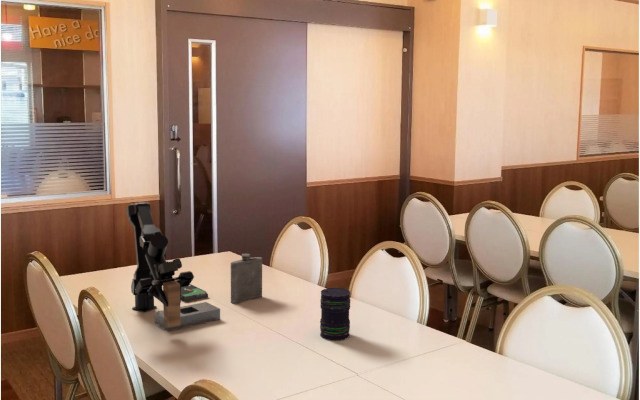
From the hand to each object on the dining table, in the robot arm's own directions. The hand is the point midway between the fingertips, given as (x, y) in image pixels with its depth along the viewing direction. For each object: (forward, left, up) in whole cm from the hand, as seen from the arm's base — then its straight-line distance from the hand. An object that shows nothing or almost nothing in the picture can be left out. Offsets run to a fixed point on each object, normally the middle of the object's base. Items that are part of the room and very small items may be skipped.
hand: (173, 304), depth 218 cm
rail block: (-7, +14, -11) cm, 20 cm away
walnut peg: (-1, 0, -7) cm, 7 cm away
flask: (-6, +46, -11) cm, 48 cm away
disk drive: (-29, +38, -12) cm, 49 cm away
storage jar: (+43, +30, -11) cm, 54 cm away
